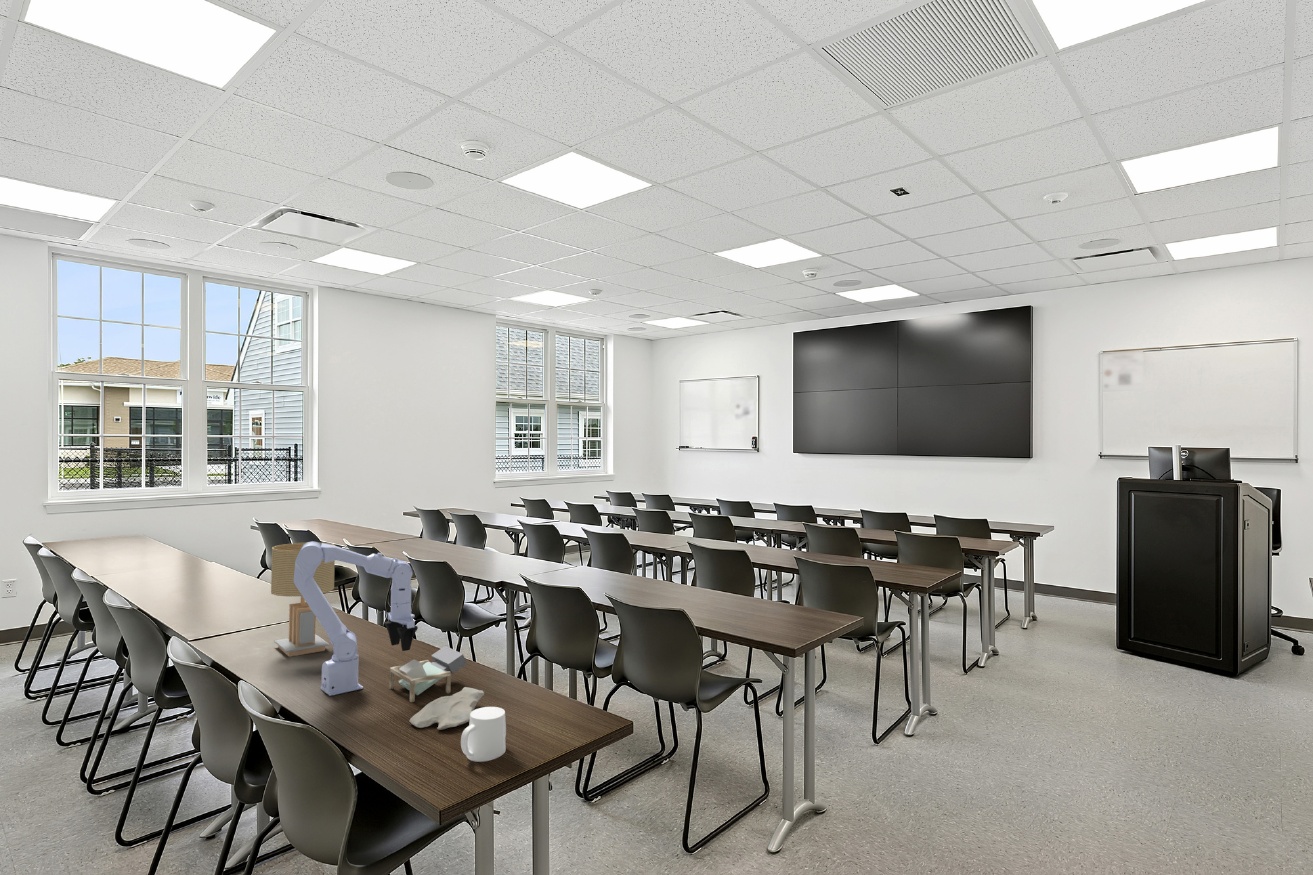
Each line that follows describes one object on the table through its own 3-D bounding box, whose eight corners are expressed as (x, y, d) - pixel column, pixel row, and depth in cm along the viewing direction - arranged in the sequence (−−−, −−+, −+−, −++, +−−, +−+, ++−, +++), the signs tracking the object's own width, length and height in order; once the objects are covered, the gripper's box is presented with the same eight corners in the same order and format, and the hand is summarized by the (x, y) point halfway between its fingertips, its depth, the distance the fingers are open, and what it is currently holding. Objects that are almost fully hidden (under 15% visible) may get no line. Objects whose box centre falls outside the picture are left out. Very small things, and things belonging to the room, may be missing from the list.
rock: (505, 714, 188) (471, 696, 197) (506, 698, 188) (471, 680, 197) (436, 747, 171) (402, 725, 181) (437, 729, 171) (402, 707, 180)
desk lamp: (262, 647, 243) (265, 545, 243) (322, 638, 256) (325, 541, 256) (277, 661, 228) (280, 552, 229) (340, 650, 241) (342, 547, 242)
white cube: (412, 687, 200) (406, 672, 199) (405, 683, 204) (399, 668, 202) (427, 677, 203) (421, 662, 202) (420, 673, 207) (413, 658, 205)
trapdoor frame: (427, 679, 213) (427, 659, 213) (450, 692, 203) (450, 671, 203) (389, 688, 205) (389, 667, 205) (411, 702, 195) (411, 680, 195)
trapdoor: (448, 655, 217) (444, 645, 216) (468, 664, 208) (463, 654, 207) (401, 687, 206) (396, 677, 205) (419, 698, 198) (414, 688, 197)
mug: (491, 703, 170) (514, 710, 166) (490, 741, 170) (514, 750, 166) (451, 718, 160) (475, 726, 156) (450, 759, 160) (474, 769, 156)
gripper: (424, 604, 208) (424, 650, 208) (403, 596, 219) (403, 639, 219) (401, 607, 203) (400, 654, 203) (381, 599, 214) (380, 644, 214)
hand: (400, 647), depth 211 cm, fingers open, 7 cm apart
